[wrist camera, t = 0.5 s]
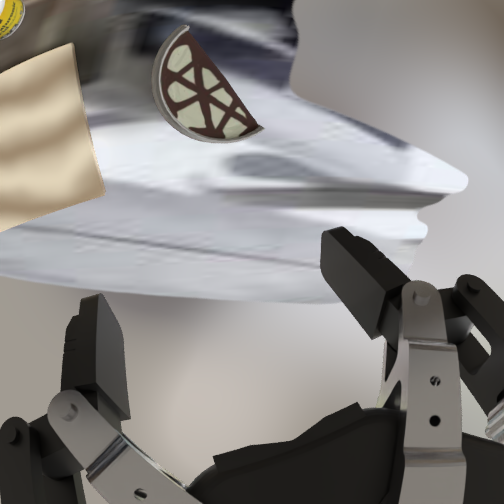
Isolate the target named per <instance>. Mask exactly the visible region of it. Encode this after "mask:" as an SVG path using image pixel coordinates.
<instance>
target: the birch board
mask: <svg viewBox="0 0 504 504" xmlns="http://www.w3.org/2000/svg"><path fill="white" fill-rule="evenodd" d="M105 192H106V190H105V187H104V183H103V180H102V176H101V173H100V169H99V165H98V162H97V158H96V154H95V150H94V146H93V142H92V138H91V134H90V130H89V125H88V121H87V116H86V111H85V106H84V102H83V96H82V91H81V86H80V80H79V74H78V68H77V61H76V54H75V47H74V44H73V43H69V44H66V45H64V46H61V47H58V48H56V49H53V50H51V51H48V52H46V53H43V54H41V55H38V56H36V57H34V58H32V59H29V60H27V61H25V62H23V63H21V64H19V65H16V66H14V67H12V68H10V69H8V70H6V71H4V72H3V73H1V74H0V232H2V231H4V230H7V229H9V228H12V227H14V226H17V225H19V224H22V223H25V222H27V221H30V220H33V219H35V218H38V217H41V216H44V215H46V214H49V213H52V212H55V211H58V210H61V209H64V208H67V207H70V206H73V205H76V204H79V203H82V202H85V201H88V200H91V199H94V198H98V197H101V196H104V195H105Z"/></svg>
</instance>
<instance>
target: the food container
mask: <svg viewBox="0 0 504 504" xmlns="http://www.w3.org/2000/svg"><path fill="white" fill-rule="evenodd" d="M188 29H189V26H187V25H181V26H180V27H179V28H177V29H176V30H175V31H173V32H172V34H171V35H170V36H169V37H168V38H167V39H166V40H165V41H164V43H163V44H162V46H161V47H160V49H159V51H158V53H157V55H156V58H155V60H154V64H153V68H152V76H151V85H152V93H153V96H154V100H155V103H156V105H157V107H158V109H159V111H160V113H161V114H162V116H163V117H164V118H165V120H166V121H167V122H168V123H169V124H170V125H171V126H172V127H173V128H175V129H176V130H177V131H179V132H180V133H182V134H184V135H186V136H188V137H190V138H192V139H195V140H198V141H202V142H209V143H232V142H238V141H241V140H245V139H248V138H250V137H252V136H255V135H257V134H258V133H260V132H261V131H263V130H264V129H265V128H263V127H262V126H260V125H258V124H257V122H256V120H255V119H254V118H253V117H252V116H251V114H250V113H249V111H248V110H247V108H246V107H245V106H244V104H243V103H242V101H241V100H240V98H239V97H238V96H237V94H236V93H235V91H234V90H233V88H232V87H231V85H230V84H229V83H228V81H227V80H226V78H225V77H224V76H223V74H222V73H221V72H220V71H219V69H218V68H217V67H216V66H215V64H214V63H213V62H212V60H211V59H210V58H209V57H208V55H207V54H206V53H205V52H204V50H203V49H202V48H201V46H200V45H199V44H198V43H197V41H196V40H195V39H194V38H193V36H192V35H191V34H190V33H189V32H188Z"/></svg>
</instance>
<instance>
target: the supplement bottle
mask: <svg viewBox="0 0 504 504" xmlns="http://www.w3.org/2000/svg"><path fill="white" fill-rule="evenodd" d="M24 14H25V6H24V3H23V2H22V0H0V40H1V39H4V38H6V37H8V36H10V35H11V34H12V33H13V32H14V31H15V30H16V29H17V28H18V27H19V25H20V24H21V22H22V20H23V17H24Z"/></svg>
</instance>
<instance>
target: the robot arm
mask: <svg viewBox="0 0 504 504" xmlns="http://www.w3.org/2000/svg"><path fill="white" fill-rule="evenodd" d="M320 268H321V272H322V275H323V277H324V279H325V280H326V282H327V283H328V284H329V286H330V287H331V288H332V289H333V291H334V292H335V293H336V294H337V296H338V297H339V298H340V299H341V301H342V302H343V303H344V304H345V306H346V307H347V308H348V310H349V311H350V312H351V314H352V315H353V316H354V317H355V319H356V320H357V321H358V322H359V324H360V325H361V327H362V328H363V329H364V330H365V332H366V333H367V334H368V336H369V337H370V338H371V340H373V339H375V338H377V337H379V336H381V335H383V336H384V338H385V339H386V340H385V343H384V355H383V370H382V380H381V389H380V393H379V396H378V400H377V404H376V408H366V409H361V407H360V405H359V404H358V402H356V403H354V404H352V405H350V406H348V407H346V408H344V409H341V410H339V411H337V412H335V413H333V414H331V415H328V416H326V417H324V418H323V419H322V420H321V421H319V422H318V423H316V424H315V425H314V426H312V427H311V428H310V429H308V430H307V431H306V432H304V433H303V434H301V435H300V436H299V437H297V438H296V439H294V440H292V441H286V442H278V443H269V444H260V445H250V446H247V447H244V448H240V449H237V450H233V451H230V452H226V453H223V454H219V455H215V456H213V459H214V462H215V464H214V465H212V466H211V467H209V468H208V469H206V470H205V471H203V472H202V473H201V474H200V475H199V476H198V477H196V478H195V480H194V481H193V482H192V483H191V484H190V486H187V485H186V484H185V483H183V482H182V481H181V480H179V479H178V478H177V477H175V476H174V475H172V474H171V473H170V472H168V471H167V470H166V469H164V468H163V467H162V466H160V465H159V464H158V463H157V462H155V461H154V460H153V459H152V458H151V457H150V456H148V455H147V454H146V453H145V452H144V451H143V450H141V449H140V448H139V447H138V446H137V445H136V444H135V443H134V442H133V441H131V440H130V439H129V438H128V437H127V436H126V435H125V434H124V433H123V432H122V429H121V421H123V420H129V419H131V416H130V409H129V401H128V392H127V381H126V370H125V357H124V341H123V340H124V339H123V334H122V330H121V327H120V325H119V323H118V321H117V319H116V317H115V316H114V314H113V312H112V310H111V308H110V307H109V305H108V303H107V301H106V299H105V297H104V296H103V294H101V293H100V294H96V295H93V296H90V297H86V298H82V299H81V302H80V309H79V315H76V316H73V317H72V319H71V321H70V323H69V324H68V326H67V328H66V335H65V344H64V354H63V363H62V375H61V391H60V393H58V394H57V395H56V396H55V397H54V398H53V399H52V401H51V402H50V404H49V407H48V412H47V414H45V415H44V416H42V417H40V418H38V419H36V420H34V421H32V422H30V423H27V422H26V421H24V420H23V419H22V418H19V417H12V418H9V419H8V420H6V421H5V422H4V423H3V425H2V427H1V429H0V495H1V504H86V500H85V495H84V490H83V484H82V479H81V473H80V471H81V470H83V469H85V470H86V471H87V473H88V474H87V475H86V478H87V479H88V481H89V482H90V484H91V485H92V486H93V487H94V488H95V489H96V491H97V492H98V493H99V494H100V495H101V496H102V497H103V498H104V499H105V500H106V501H107V502H108V503H109V504H504V301H503V300H502V299H501V298H500V297H499V296H498V295H497V294H496V293H495V292H494V291H493V290H492V289H491V288H490V287H489V286H488V285H487V284H486V283H485V282H484V281H483V280H481V279H480V278H478V277H476V276H474V275H470V274H465V275H461V276H460V277H459V278H458V279H457V282H456V284H455V286H454V287H453V288H446V289H439V290H437V289H436V288H435V287H434V286H433V285H431V284H430V283H427V282H424V281H419V280H417V281H416V280H415V281H411V280H410V279H409V278H408V277H407V276H406V275H405V274H404V273H403V272H402V271H401V270H400V269H399V268H398V267H397V266H396V265H395V264H394V263H392V262H391V261H390V260H389V259H388V258H386V256H385V255H384V254H383V253H382V252H381V251H379V249H377V248H376V247H375V246H374V245H373V244H372V243H371V242H370V241H368V240H366V239H363V238H361V237H359V236H353V235H352V234H351V233H350V232H349V231H348V230H347V229H346V228H345V227H342V226H341V227H337V228H334V229H330V230H326V231H324V232H323V233H322V237H321V259H320ZM474 325H475V326H476V328H477V329H478V330H479V331H480V332H481V334H482V335H483V336H484V337H485V338H486V340H487V341H488V342H489V344H490V346H491V355H490V356H489V354H488V353H487V352H486V351H485V349H484V348H483V347H482V346H481V344H480V343H479V342H478V341H477V339H476V338H475V337H474V336H473V334H472V333H471V332H470V331H471V329H472V328H473V326H474ZM460 378H461V379H462V380H463V382H464V383H465V385H466V386H467V387H468V389H469V390H470V392H471V393H472V395H473V396H474V397H475V399H476V400H477V402H478V403H479V405H480V406H481V408H482V409H483V411H484V412H485V414H486V415H487V417H488V425H487V427H486V429H485V433H486V436H487V437H488V438H492V440H488V439H484V438H480V437H477V436H474V435H470V434H467V433H464V432H462V410H461V409H462V408H461V386H460Z"/></svg>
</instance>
